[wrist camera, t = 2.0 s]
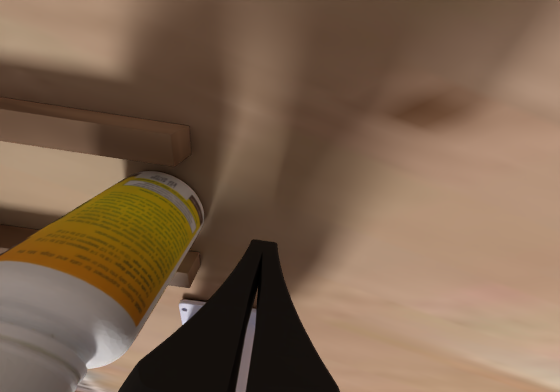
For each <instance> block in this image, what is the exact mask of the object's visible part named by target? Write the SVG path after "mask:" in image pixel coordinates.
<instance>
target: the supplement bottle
mask: <svg viewBox="0 0 560 392" xmlns="http://www.w3.org/2000/svg"><path fill="white" fill-rule="evenodd" d="M203 222H204V210H203V207H202V204H201V201H200V200H199V198H198V196H197V195H196V193H195V192H194V191H193V190H192V189H191V188H190V187H189V186H188V185H187V184H185V183H184V182H183V181H181V180H180V179H178V178H176V177H174V176H172V175H169V174H166V173H162V172H156V171H143V172H138V173H135V174H133V175H131V176H129V177H127V178H125V179H123V180H122V181H120V182H118V183H117V184H115V185H113V186H112V187H110V188H108V189H107V190H105V191H103V192H102V193H100V194H99V195H97V196H95V197H94V198H92V199H90V200H89V201H87V202H85V203H83V204H82V205H80V206H79V207H77V208H75V209H74V210H72V211H71V212H69V213H67V214H66V215H64V216H62V217H61V218H59V219H58V220H56V221H54V222H53V223H51V224H49V225H48V226H46V227H44V228H43V229H41V230H39V231H38V232H36V233H35V234H33V235H31V236H30V237H28V238H26V239H25V240H23V241H21V242H19V243H18V244H16V245H15V246H13V247H12V248H10V249H8V250H7V251H5V252H3V253H1V254H0V392H75V390H76V389H77V385H78V384H79V383H80V382H81V381H82V379H83V378H84V377H85V375H86V373H87V369H91V368H97V367H101V366H105V365H107V364H110V363H112V362H114V361H115V360H117V359H119V358H120V357H121V356H122V355H123V354H124V353H125V352H126V351H127V350H128V349H129V347H130V346H131V345H132V343H133V342H134V340H135V339H136V337H137V336H138V334H139V332H140V331H141V329H142V327H143V326H144V324H145V322H146V321H147V319H148V317H149V316H150V314H151V312H152V311H153V309H154V307H155V306H156V304H157V303H158V301H159V299H160V298H161V296H162V294H163V293H164V291H165V289H166V288H167V286H168V284H169V282H170V281H171V279H172V278H173V276H174V274H175V273H176V271H177V269H178V268H179V266H180V264H181V263H182V261H183V259H184V258H185V256H186V254H187V252H188V251H189V249H190V247H191V246H192V244H193V242H194V241H195V239H196V237H197V236H198V234H199V232H200V230H201V228H202V226H203Z"/></svg>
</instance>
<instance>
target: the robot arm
mask: <svg viewBox="0 0 560 392" xmlns="http://www.w3.org/2000/svg"><path fill="white" fill-rule="evenodd" d="M257 288H258V295H257V309H253V308H252V307H253V303H254V299H255V296H256V292H257ZM179 309H180V314H181V320H182V326H181V327H180V328H179V329H178V330H177V331H176V332H174V333H173V334H172V335H171V336H170V337H169V338H167V339H166V340H165V341H164V342H163V343H161V344H160V345H159V346H158V347H156V348H155V349H154V350H153V351H151V352H150V353H149V354H147V355H146V356H145V357H144V358H142V359H141V360H140V361H139V362H138V363H137V365H136V366H135V367H134V369H133V370H132V372H131V373H130V374H129V376H128V377H127V379H126V380H125V382H124V383H123V385H122V386H121V388H120V389H119V391H118V392H340V391H339V388H338V386H337V384H336V382H335V381H334V379H333V378H332V376H331V375H330V373H329V371H328V370H327V368H326V367H325V365H324V363H323V362H322V360H321V358H320V357H319V355H318V353H317V351H316V350H315V348H314V346H313V344H312V342H311V340H310V338H309V337H308V335H307V333H306V331H305V329H304V327H303V325H302V323H301V321H300V319H299V316H298V314H297V312H296V310H295V307H294V305H293V303H292V300H291V297H290V295H289V292H288V289H287V286H286V283H285V280H284V277H283V273H282V270H281V266H280V261H279V256H278V248H277V243H275V242H268V241H261V240H254V239H253V240H252V241H251V243H250V245H249V247H248V249H247V251H246V252H245V254H244V256H243V257H242V259H241V260H240V262H239V263H238V265H237V266H236V268H235V269H234V270H233V272H232V273H231V274H230V275H229V277H228V278H227V279H226V281H225V282H224V283H223V284H222V286H221V287H220V288H219V289H218V290H217V291H216V292H215V294H214V295H213V296H212V297H211V298H210V299H209V300H208V301H207V302H201V301H194V300H186V299H183V300H181V301H180V303H179Z"/></svg>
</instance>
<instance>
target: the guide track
mask: <svg viewBox="0 0 560 392" xmlns="http://www.w3.org/2000/svg"><path fill="white" fill-rule="evenodd" d="M0 141H5V142H12V143H18V144H25V145H32V146H38V147H45V148H52V149H59V150H65V151H72V152H79V153H85V154H92V155H99V156H106V157H112V158H119V159H126V160H132V161H139V162H146V163H153V164H159V165H166V166H173V167H175V166H176V165H177V164H179V163H180V162H181V161H183V160H184V159H185V158H187V157H188V156H189V155H191V143H190V130H189V126H186V125H179V124H173V123H166V122H160V121H153V120H147V119H140V118H134V117H127V116H121V115H114V114H108V113H101V112H95V111H88V110H82V109H75V108H68V107H62V106H55V105H49V104H42V103H36V102H29V101H23V100H16V99H10V98H3V97H0ZM38 231H39V230H36V229H29V228H22V227H14V226H7V225H0V254H1V253H3V252H5V251H7V250H8V249H10V248H12V247H13V246H15V245H16V244H18V243H19V242H21V241H23V240H25V239H26V238H28V237H30V236H31V235H33V234H35V233H36V232H38ZM199 268H200V257H199V252H193V251H188V252H187V254H186V256H185V258H184V259H183V261H182V263H181V264H180V266H179V268H178V269H177V271H176V273H175V274H174V276H173V278H172V279H171V281H170V282H169V284H168V285H171V286H178V287H185V288H190V286H191V284H192V282H193V280H194V278H195V276H196V274H197V272H198V270H199Z"/></svg>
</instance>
